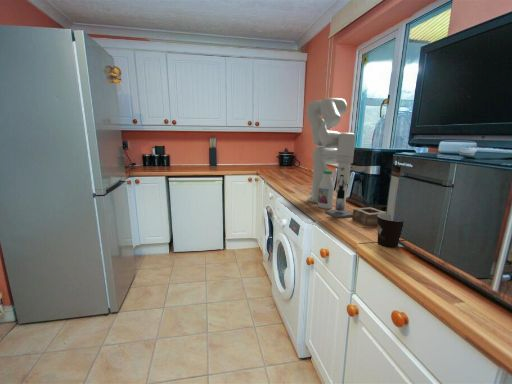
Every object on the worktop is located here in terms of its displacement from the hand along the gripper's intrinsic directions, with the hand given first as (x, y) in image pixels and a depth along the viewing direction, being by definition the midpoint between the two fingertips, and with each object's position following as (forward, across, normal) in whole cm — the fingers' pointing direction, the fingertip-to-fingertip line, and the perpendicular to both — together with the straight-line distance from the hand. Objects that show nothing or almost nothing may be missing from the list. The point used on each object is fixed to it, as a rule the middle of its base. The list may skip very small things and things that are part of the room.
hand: (341, 197), depth 125 cm
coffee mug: (+9, -29, -21) cm, 37 cm away
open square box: (+9, -5, -14) cm, 17 cm away
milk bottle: (+9, +10, +9) cm, 17 cm away
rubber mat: (+9, 0, 0) cm, 9 cm away
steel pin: (+6, 0, 0) cm, 6 cm away
